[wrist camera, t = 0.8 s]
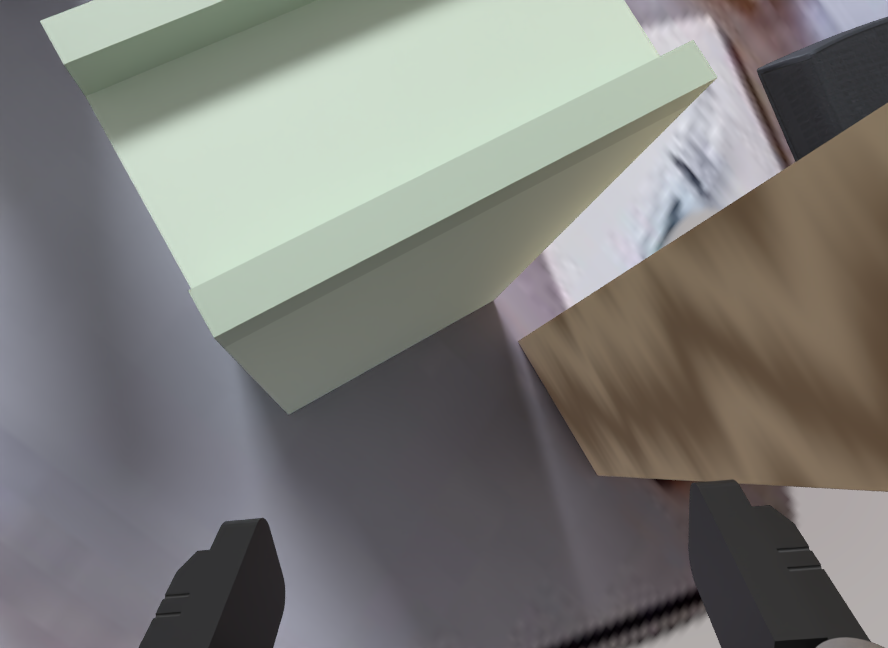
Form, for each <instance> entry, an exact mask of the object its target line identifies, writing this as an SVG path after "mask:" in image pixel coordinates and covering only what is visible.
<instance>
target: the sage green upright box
mask: <svg viewBox="0 0 888 648" xmlns="http://www.w3.org/2000/svg"><path fill="white" fill-rule="evenodd" d="M40 22H41V24H42V26H43V28H44V30H45V31H46V33H47V35H48V37H49V39H50V41H51V42H52V44H53V46H54V48H55V50H56V51H57V53H58V55H59V57H60V59H61V61H62V62H63V64H64V66H65V67H66V69H67V70H68V72H69V73H70V75H71V76H72V77H73V79H74V80H75V82H76V83H77V85H78V86H79V88H80V89H81V91H82V92H83V94H84V95H85V97H86V99H87V100H88V102H89V104H90V106H91V108H92V109H93V111H94V113H95V115H96V117H97V119H98V120H99V122H100V124H101V126H102V128H103V129H104V131H105V133H106V135H107V137H108V138H109V140H110V142H111V144H112V146H113V148H114V149H115V151H116V153H117V155H118V157H119V158H120V160H121V162H122V164H123V166H124V168H125V169H126V171H127V173H128V175H129V177H130V178H131V180H132V182H133V184H134V186H135V188H136V189H137V191H138V193H139V195H140V197H141V198H142V200H143V202H144V204H145V206H146V208H147V209H148V211H149V213H150V215H151V217H152V218H153V220H154V222H155V224H156V226H157V228H158V229H159V231H160V233H161V235H162V237H163V238H164V240H165V242H166V244H167V246H168V248H169V249H170V251H171V253H172V255H173V257H174V258H175V260H176V262H177V264H178V266H179V268H180V269H181V271H182V273H183V275H184V277H185V278H186V280H187V282H188V284H189V286H190V287H191V289H190V290H188V292H189V293H190V295H191V297H192V299H193V301H194V302H195V304H196V306H197V308H198V310H199V312H200V313H201V315H202V317H203V319H204V321H205V322H206V324H207V326H208V328H209V330H210V332H211V333H212V335H213V337H214V338H215V339H216V340H217V341H218V342H219V344H220V345H221V346H222V347H223V348H224V349H225V350H226V351H227V352H228V353H229V354H230V355H231V356H232V357H233V358H234V359H235V360H236V361H237V362H238V363H239V364H240V365H241V366H242V367H243V368H244V369H245V371H246V372H247V373H248V374H249V375H250V376H251V377H252V378H253V379H254V380H255V381H256V382H257V383H258V384H259V385H260V386H261V387H262V388H263V389H264V390H265V391H266V392H267V393H268V394H269V395H270V396H271V398H272V399H273V400H274V401H275V402H276V403H277V404H278V405H279V406H280V407H281V408H282V409H283V410H284V411H285V412H286V413H287V414H288V415H289V414H291V413H293V412H295V411H297V410H298V409H300V408H302V407H304V406H306V405H307V404H309V403H311V402H313V401H314V400H316V399H318V398H320V397H322V396H323V395H325V394H327V393H329V392H331V391H332V390H334V389H336V388H338V387H340V386H341V385H343V384H345V383H347V382H348V381H350V380H352V379H354V378H356V377H357V376H359V375H361V374H363V373H365V372H366V371H368V370H370V369H372V368H374V367H375V366H377V365H379V364H381V363H382V362H384V361H386V360H388V359H390V358H391V357H393V356H395V355H397V354H399V353H400V352H402V351H404V350H406V349H408V348H409V347H411V346H413V345H415V344H417V343H418V342H420V341H422V340H424V339H425V338H427V337H429V336H431V335H433V334H434V333H436V332H438V331H440V330H442V329H443V328H445V327H447V326H449V325H451V324H452V323H454V322H456V321H458V320H459V319H461V318H463V317H465V316H467V315H468V314H470V313H472V312H474V311H476V310H477V309H479V308H481V307H483V306H485V305H486V304H488V303H490V302H492V301H493V300H495V299H496V298H497V297H498V296H499V295H500V294H501V293H502V292H503V291H504V290H505V289H506V288H507V287H508V286H509V285H510V284H511V283H512V282H513V281H514V280H515V279H516V278H517V277H518V276H519V275H520V274H521V273H522V272H523V271H524V270H525V269H526V268H527V267H528V266H529V265H530V264H531V263H532V262H533V261H534V260H535V259H536V258H537V257H538V256H539V255H540V254H541V253H542V252H543V251H544V250H545V249H546V248H547V247H548V246H549V245H550V244H551V243H552V242H553V241H554V240H555V239H556V238H557V237H558V236H559V235H560V234H561V233H562V232H563V231H564V230H565V229H566V228H567V227H568V226H569V225H570V224H571V223H572V222H573V221H574V220H575V219H576V218H577V217H578V216H579V215H580V214H581V213H582V212H583V211H584V210H585V209H586V208H587V207H588V206H589V205H590V204H591V203H592V202H593V201H594V200H595V199H596V198H597V197H598V196H599V195H600V194H601V193H602V192H603V191H604V190H605V189H606V188H607V187H608V186H609V185H610V184H611V183H612V182H613V181H614V180H615V179H616V178H617V177H618V176H619V175H620V174H621V173H622V172H623V171H624V170H625V169H626V168H627V167H628V166H629V165H630V164H631V163H632V162H633V161H634V160H635V159H636V158H637V157H638V156H639V155H640V154H641V153H642V152H643V151H644V150H645V149H646V148H647V147H648V146H649V145H650V144H651V143H652V142H653V141H654V140H655V139H656V138H657V137H658V136H659V135H660V134H661V133H662V132H663V131H664V130H665V129H666V128H667V127H668V126H669V125H670V124H671V123H672V122H673V121H674V120H675V119H676V118H677V117H678V116H679V115H680V114H681V113H682V112H683V111H684V110H685V109H686V108H687V107H688V106H689V105H690V104H691V103H692V102H693V101H694V100H695V99H696V98H697V97H698V96H699V95H700V94H701V93H702V92H703V91H704V90H705V89H706V88H707V87H708V86H709V85H710V84H711V83H712V82H713V81H714V80H715V79H716V78H717V76H716V74H715V73H714V71H713V70H712V68H711V67H710V65H709V64H708V62H707V60H706V59H705V57H704V56H703V54H702V53H701V51H700V50H699V48H698V47H697V45H696V43H695V42H694V40H692V41H690V42H688V43H686V44H684V45H682V46H680V47H678V48H676V49H674V50H672V51H670V52H668V53H666V54H664V55H662V56H659V54H658V53H657V51H656V49H655V48H654V46H653V45H652V43H651V42H650V40H649V38H648V37H647V35H646V34H645V32H644V31H643V29H642V28H641V26H640V24H639V23H638V21H637V20H636V18H635V17H634V15H633V14H632V12H631V10H630V9H629V7H628V6H627V4H626V3H625V1H624V0H93V1H90V2H88V3H85V4H83V5H80V6H77V7H75V8H72V9H70V10H67V11H64V12H62V13H59V14H57V15H54V16H51V17H49V18H46V19H43V20H41V21H40Z"/></svg>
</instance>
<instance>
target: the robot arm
mask: <svg viewBox="0 0 888 648" xmlns="http://www.w3.org/2000/svg"><path fill="white" fill-rule="evenodd" d="M688 549H689V560H690V566H691V570H692V574H693V578H694V581H695V584H696V586H697V589H698V591H699V594H700V596H701V599H702V601H703V604H704V606H705V608H706V611H707V613H708V616H709V618H710V621H711V623H712V626H713V628H714V630H715V633H716V635H717V638H718V640H719V643H720V645H721V648H884V647H882V646H880V645H877V644H875V643H872V642H871V641H870V640H869V638H868V637H867V635H866V634H865V632H864V631H863V629H862V628H861V626H860V625H859V623H858V621H857V620H856V618H855V617H854V615H853V614H852V612H851V611H850V609H849V608H848V606H847V604H846V603H845V601H844V600H843V598H842V597H841V595H840V594H839V592H838V591H837V589H836V588H835V586H834V584H833V583H832V581H831V580H830V578H829V577H828V575H827V574H826V572H825V571H824V569H821V564H820V563H819V561H818V560H817V558H816V557H815V555H814V553H813V552H812V551H810V550H809V546H808V544H807V543H806V541H805V539H804V538H803V536H802V535H801V533H800V532H799V530H798V529H797V527H796V526H795V524H794V523H793V522H791V521H790V520H789V519H787V518H786V517H785V516H783V515H782V514H781V513H779V512H778V511H777V510H775V509H774V508H773V507H772V506H770V505H766V506H754V507H752V506H751V505H750V503H749V501H748V499H747V498H746V496H745V494H744V493H743V491H742V489H741V487H740V486H739V484H738V483H737V482H736V481H735V480H733V479H731V480H719V481H707V482H696V483H692V484H691V487H690V504H689V543H688ZM284 605H285V583H284V578H283V574H282V570H281V567H280V563H279V560H278V556H277V553H276V549H275V545H274V542H273V538H272V535H271V531H270V528H269V525H268V523H267V521H266V520H265V519H264V518H258V519H246V520H234V521H225V522H224V523H223V524H222V525H221V527H220V529H219V531H218V533H217V536H216V538H215V540H214V542H213V544H212V546H211V549H210V550H203V551H197V552H196V553H195V554H194V555H193V556H192V557H191V558H190V559H189V560H188V561H187V562H186V563H185V564H184V565H183V566H182V567H181V568H180V569H179V570H178V571H177V572H176V574H175V576H174V578H173V580H172V582H171V584H170V586H169V588H168V590H167V592H166V594H165V599H163V600H162V602H161V604H160V606H159V608H158V610H157V612H156V618H153V620H152V622H151V624H150V626H149V628H148V630H147V632H146V634H145V636H144V638H143V640H142V642H141V644H140V646H139V648H273V646H274V643H275V639H276V636H277V632H278V629H279V625H280V622H281V619H282V615H283V611H284Z"/></svg>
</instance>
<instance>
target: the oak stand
mask: <svg viewBox="0 0 888 648" xmlns="http://www.w3.org/2000/svg"><path fill="white" fill-rule="evenodd" d="M518 342H519V344H520V346H521V347H522V349H523V351H524V352H525V354H526V356H527V357H528V359H529V361H530V362H531V364H532V366H533V368H534V369H535V371H536V373H537V374H538V376H539V378H540V379H541V381H542V383H543V384H544V386H545V388H546V389H547V391H548V393H549V394H550V396H551V398H552V400H553V401H554V403H555V405H556V406H557V408H558V410H559V411H560V413H561V415H562V416H563V418H564V420H565V421H566V423H567V425H568V426H569V428H570V430H571V432H572V433H573V435H574V437H575V438H576V440H577V442H578V443H579V445H580V447H581V448H582V450H583V452H584V453H585V455H586V457H587V458H588V460H589V462H590V464H591V465H592V467H593V469H594V470H595V472H596V474H597V475H598V476H614V477H632V478H650V479H668V480H686V481H704V482H707V481H719V480H731V479H733V480H735V481H736V482H737V483H740V484H758V485H776V486H794V487H812V488H831V489H848V490H867V491H885V492H888V103H886V104H885V105H883V106H882V107H880V108H879V109H877V110H876V111H874V112H873V113H871V114H869V115H868V116H866V117H865V118H863V119H862V120H860V121H859V122H857V123H855V124H854V125H852V126H851V127H849V128H848V129H846V130H845V131H843V132H842V133H840V134H838V135H837V136H835V137H834V138H832V139H831V140H829V141H828V142H826V143H824V144H823V145H821V146H820V147H818V148H817V149H815V150H814V151H812V152H811V153H809V154H807V155H806V156H804V157H803V158H801V159H800V160H798V161H797V162H795V163H794V164H792V165H790V166H789V167H787V168H786V169H784V170H783V171H781V172H780V173H778V174H776V175H775V176H773V177H772V178H770V179H769V180H767V181H766V182H764V183H763V184H761V185H759V186H758V187H756V188H755V189H753V190H752V191H750V192H749V193H747V194H745V195H744V196H742V197H741V198H739V199H738V200H736V201H735V202H733V203H732V204H730V205H728V206H727V207H725V208H724V209H722V210H721V211H719V212H718V213H716V214H714V215H713V216H711V217H710V218H708V219H707V220H705V221H704V222H702V223H701V224H699V225H697V226H696V227H694V228H693V229H691V230H690V231H688V232H687V233H685V234H684V235H682V236H680V237H679V238H677V239H676V240H674V241H673V242H671V243H670V244H668V245H666V246H665V247H663V248H662V249H660V250H659V251H657V252H656V253H654V254H652V255H651V256H649V257H648V258H646V259H645V260H643V261H642V262H640V263H639V264H637V265H635V266H634V267H632V268H631V269H629V270H628V271H626V272H625V273H623V274H622V275H620V276H618V277H617V278H615V279H614V280H612V281H611V282H609V283H608V284H606V285H604V286H603V287H601V288H600V289H598V290H597V291H595V292H594V293H592V294H591V295H589V296H587V297H586V298H584V299H583V300H581V301H580V302H578V303H577V304H575V305H573V306H572V307H570V308H569V309H567V310H566V311H564V312H563V313H561V314H560V315H558V316H556V317H555V318H553V319H552V320H550V321H549V322H547V323H546V324H544V325H542V326H541V327H539V328H538V329H536V330H535V331H533V332H532V333H530V334H529V335H527V336H525V337H524V338H522V339H521V340H519V341H518Z"/></svg>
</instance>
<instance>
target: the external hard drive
mask: <svg viewBox="0 0 888 648" xmlns="http://www.w3.org/2000/svg"><path fill="white" fill-rule="evenodd" d="M757 72H758V75H759V78H760V80H761V82H762V85H763V87H764V89H765V92H766V94H767V96H768V98H769V101H770V103H771V105H772V108H773V110H774V112H775V115H776V117H777V119H778V122H779V124H780V126H781V129H782V131H783V133H784V136H785V138H786V140H787V143H788V145H789V147H790V150H791V152H792V154H793V157H794V159H795V161H796V162H797V161H798V160H800V159H801V158H803V157H804V156H806V155H807V154H809V153H811V152H812V151H814V150H815V149H817V148H818V147H820V146H821V145H823V144H824V143H826V142H828V141H829V140H831V139H832V138H834V137H835V136H837V135H838V134H840V133H842V132H843V131H845V130H846V129H848V128H849V127H851V126H852V125H854V124H855V123H857V122H859V121H860V120H862V119H863V118H865V117H866V116H868V115H869V114H871V113H873V112H874V111H876V110H877V109H879V108H880V107H882V106H883V105H885V104H886V103H888V17H886V18H883V19H879V20H876V21H873V22H870V23H868V24H865V25H862V26H859V27H856V28H853V29H851V30H848V31H845V32H842V33H840V34H837V35H835V36H832V37H830V38H827V39H825V40H822V41H820V42H817V43H815V44H812V45H810V46H807V47H805V48H803V49H800V50H798V51H796V52H793V53H791V54H789V55H786V56H784V57H782V58H780V59H777V60H775V61H773V62H771V63H769V64H766V65H765V66H762V67H760V68H758V69H757Z"/></svg>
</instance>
